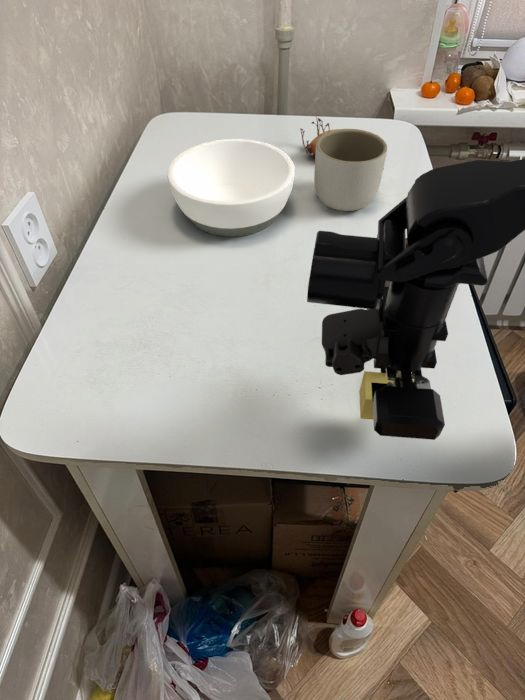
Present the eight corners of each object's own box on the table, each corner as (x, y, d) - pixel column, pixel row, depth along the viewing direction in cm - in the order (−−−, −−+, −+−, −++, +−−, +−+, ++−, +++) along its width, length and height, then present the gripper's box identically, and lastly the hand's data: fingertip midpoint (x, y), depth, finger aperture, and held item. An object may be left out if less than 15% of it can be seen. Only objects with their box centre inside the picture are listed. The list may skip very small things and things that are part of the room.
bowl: (220, 167, 105) (216, 127, 98) (314, 198, 97) (317, 157, 90) (148, 221, 92) (140, 179, 86) (250, 262, 84) (249, 219, 78)
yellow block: (409, 394, 61) (416, 374, 58) (412, 422, 58) (420, 403, 55) (359, 391, 61) (363, 371, 58) (360, 418, 59) (365, 399, 56)
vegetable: (370, 122, 111) (380, 90, 101) (379, 167, 108) (390, 138, 98) (299, 131, 110) (302, 99, 100) (306, 176, 108) (310, 148, 98)
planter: (356, 176, 102) (363, 123, 93) (389, 208, 94) (401, 153, 86) (301, 190, 98) (304, 136, 90) (331, 224, 91) (337, 169, 83)
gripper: (331, 241, 54) (319, 338, 66) (329, 378, 42) (316, 467, 53) (436, 246, 53) (406, 344, 65) (466, 388, 41) (422, 476, 53)
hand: (386, 401), depth 59 cm, fingers closed on yellow block, 4 cm apart
